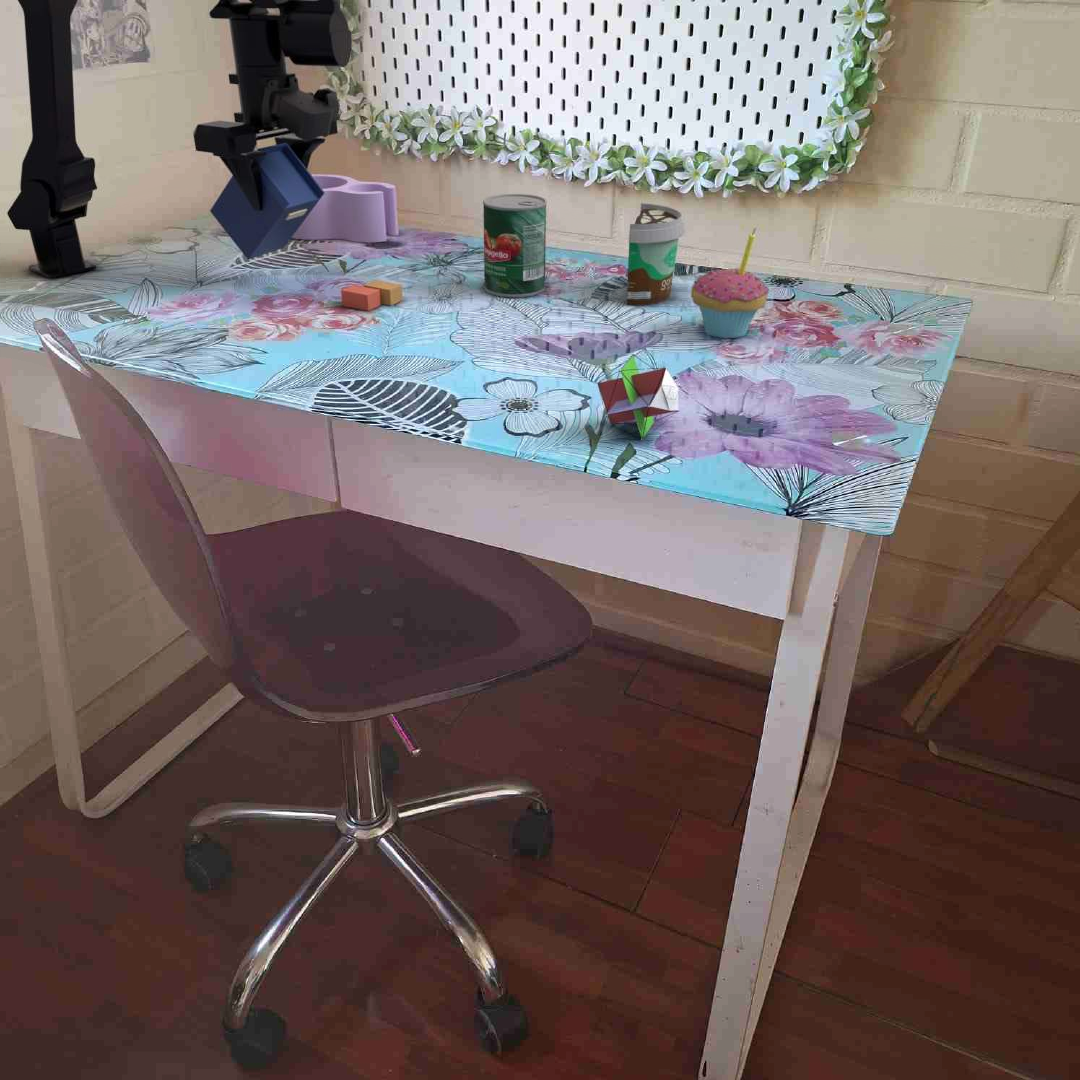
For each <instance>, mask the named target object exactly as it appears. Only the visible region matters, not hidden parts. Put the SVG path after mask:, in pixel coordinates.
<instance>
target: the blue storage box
mask: <svg viewBox="0 0 1080 1080" xmlns="http://www.w3.org/2000/svg"><path fill="white" fill-rule="evenodd" d="M258 151H261V152H267V154H266V156H265V157H264V159H263V161H262V163H261V165H260V172H261V183H262V195H263V210H262V211H257V210H254V209H253V207H252V205H251V204H250V202H249V201H248V199H247V197H246V196H245V194H244V192H243V191H242V189H241V187H240V186H239V184H238V183H237V181H236V179H235V178H234V176H233V175H232V176H231V177H230V179H229V180H228V182H227V184H226V185H225V187H224V188H223V189H222V191H221V193H220V195H218V198H217V199H216V200H215V202H214V204H213V205H212V207H211V208H210V209H209V212H210V214H212V216H213V217H214V218H215V219H216V221H217V223H218V224H219V225H220V226H221V227H222V229H223V230H224V231H225V232H226V234H227V235H228V236H229V238H230V239H231V240H232V242H233V243H234V244H235V245H236V247H237V248H238V249H239V251H241V253H242V254H243V256H244V257H245V258H246V259H247V261H248V260H251V259H252V260H253V259H255V258H257V257H261V256H263V255H266V254H269V253H272V252H273V253H274V252H276V251H278V250H279V251H280V250H281V249H284V248H285V247H286V245H287V244H288V243H289V242H290V240H291V239H292V238H291V237H292V236H293V235H294V233H295V232H296V231H297V229H298V228H299V227H300V225H301V224H302V223H303V221H304V220H305V219H306V217H307V216H308V215H309V213H310V212H311V211H312V209H313V208H314V207H315V205H316V204H317V203H318V201H319V200H320V199H321V197H322V196H323V195H324V193H325V192H324V191H323V190H322V188H321V187H320V186H319V184H318V183H317V182H316V180H315V179H314V178H313V177H312V175H313V174H311V173H310V172H309V170H308V168H307V169H306V168H305V166H304V165H303V164H302V162H301V161H300V160H299V158H298V157H297V156H296V155H295V153H294V152H293V151H292V149H291V148H290V147H289V145H288V144H287V143H283V144H278V145H276V144H274V145H269V146H264V147H260V148H258Z"/></svg>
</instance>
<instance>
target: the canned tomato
mask: <svg viewBox="0 0 1080 1080" xmlns="http://www.w3.org/2000/svg"><path fill="white" fill-rule="evenodd" d="M482 204H483V214H482V215H483V265H484V266H483V270H484V272H483V274H484V275H483V276H484V277H483V278H484V286H483V288H484V291H485V292H486V293H488V294H490V295H493V296H497V297H501V298H527V297H534V296H537V295H539V294H542V293H544V291H546V244H547V241H546V240H547V238H546V237H547V233H546V232H547V204H548V200H546V198H544V197H542V196H538V195H534V194H526V193H505V194H504V193H502V194H496V195H491V196H488V197H486V198H484V199H483V201H482Z"/></svg>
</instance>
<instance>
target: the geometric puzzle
mask: <svg viewBox="0 0 1080 1080" xmlns="http://www.w3.org/2000/svg"><path fill="white" fill-rule="evenodd" d="M636 358H637V359H638V360H640V361H641V362H642V363H644V364H645V365H647V366H648V367H650V368H648V370H649V371H646V372H642V373H640V370H641V371H643V370H644V368H638V363H637V361H636ZM644 360H645V361H647V358H644ZM644 360H643V359H642V357H641V356H638V355H635V353H632V355H630V357H627V358H626V361H623V362H622V363H621V364H619V365H618V366H617V367H616V368H614V369H613V370H612V371H611V372H609V373H608V374H607V375H606V376H604V377H603V378H602V379H601V380H599V381H597V382H596V384H597V387H598V391H599V395H600V398H601V403H602V405H603V410H604V411H603V412H604V415H605V416H604V417H606V418H607V420H608V421H609V425H610V426H614V427H615V428H618V429H619V430H621V431H623V432H625V433H627V432H629V433H630V434H631V436H634V437H636V438H638V439H640V440H641V441H644V439H645V438H646V437H648V436H649V435H650V433H649V431H650V429H651V428H652V426H653V425H654V423H656V422H657V421H660V420H662V419H664V418H666V417H669V416H670V418H672V417H673V415H675V414H677V413H678V412H680V388H679V386H678V384H677V383H676V381H675V379H674V378H673V376H672V375H671V373H670V371H669V370H668V367H667V366H662V365H661V367H652V366H651V365H650V364H648V363H646V362H645V361H644ZM649 362H651V363H652V361H650V360H649ZM624 363H625V364H624ZM623 364H624V365H623ZM654 364H655V365H657V366H659V364H658V363H656V362H654ZM621 365H623V366H622V367H621V368H620V369H619V370H618V371H617V372H614V371H615V370H616V369H618V368H619V367H620V366H621ZM613 372H614V373H613ZM611 373H613V374H611ZM617 373H618V375H617V377H616V378H613V379H609V380H607V379H608V378H610V377H612V376H614V375H615V374H617ZM620 375H621V377H619V376H620ZM605 380H606V381H605ZM666 414H667V415H666ZM660 415H665V416H662V417H661V418H658V419H657V417H658V416H660ZM668 420H669V418H667V419H666V420H665V422H667V421H668ZM630 421H633V422H630ZM630 424H636V425H637V429H638V431H639V434H640V436H638V435H636V434H635V433H634V432H632V431H630V430H629V429H628V428H626V427H625V426H623V425H630ZM616 425H618V426H621V427H622V428H620V427H618V426H616ZM662 425H664V422H663V423H661V424H660V426H662ZM623 428H624V429H623ZM657 428H659V426H657V427H656V429H657ZM626 430H627V431H626ZM653 431H655V429H653V430H652V431H651V433H653Z"/></svg>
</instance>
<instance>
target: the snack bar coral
mask: <svg viewBox="0 0 1080 1080" xmlns="http://www.w3.org/2000/svg"><path fill="white" fill-rule="evenodd" d="M340 295H341V304H342V307H345V308H350V309H356V310H360V311H361V310H362V311H367V312H369V311H372V310H374V309H376V308H378V307H381V305H382V304H381V303H380V290H378V289H373V288H367V287H364V286H361V285H356V284H352V285H349V286H347V287H344V288H343V289H341V290H340Z"/></svg>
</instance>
